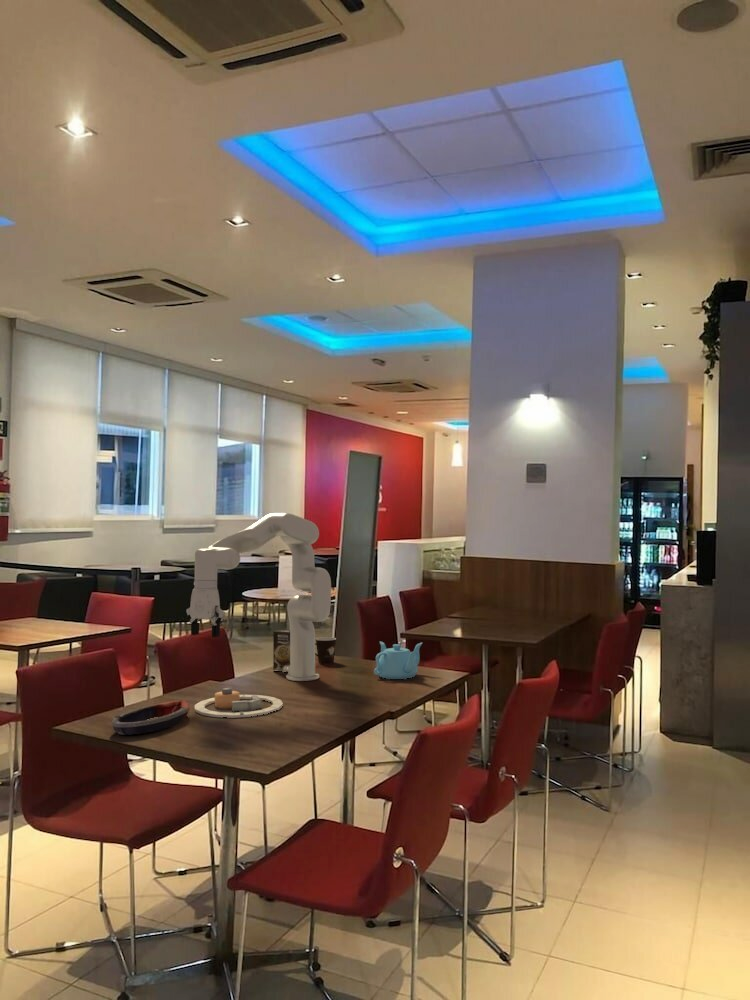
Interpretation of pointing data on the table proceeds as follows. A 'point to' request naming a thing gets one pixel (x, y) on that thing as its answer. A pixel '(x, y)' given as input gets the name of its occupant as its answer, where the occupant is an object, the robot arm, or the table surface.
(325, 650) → the coffee mug
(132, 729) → the dish
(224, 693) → the orange pumpkin
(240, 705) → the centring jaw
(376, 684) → the table surface
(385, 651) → the teapot
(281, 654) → the coffee box
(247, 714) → the turntable ring
